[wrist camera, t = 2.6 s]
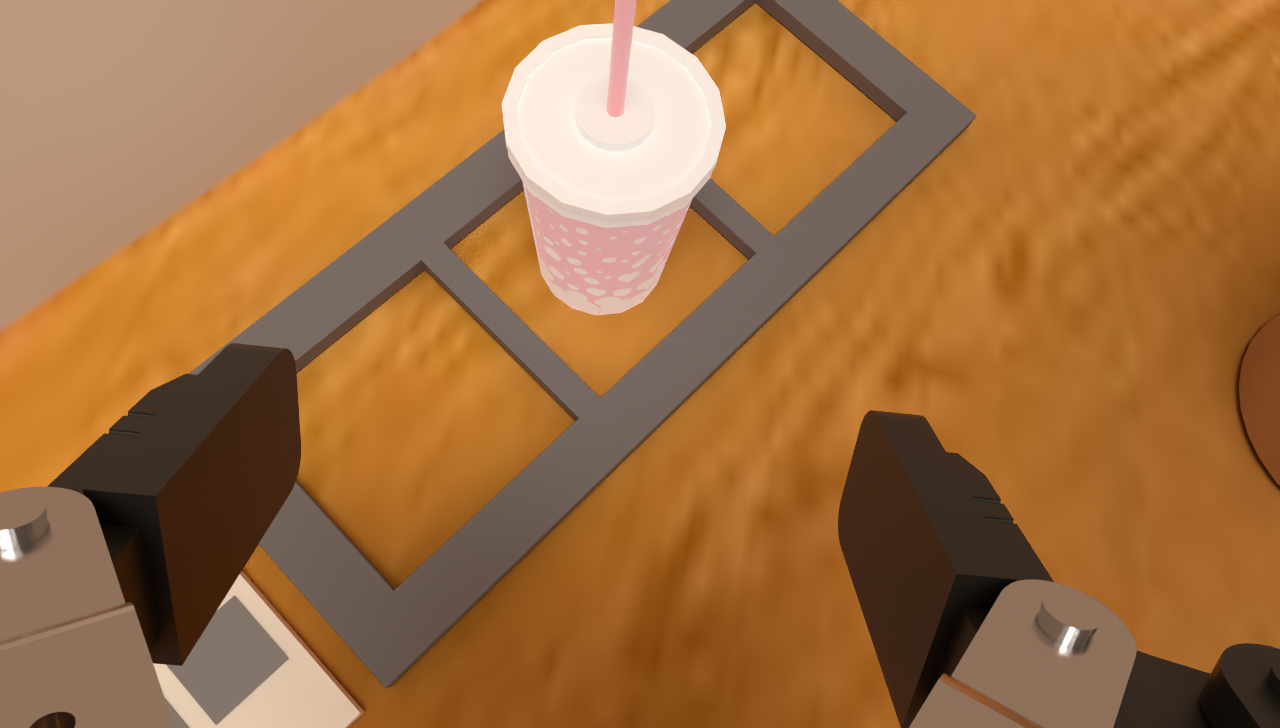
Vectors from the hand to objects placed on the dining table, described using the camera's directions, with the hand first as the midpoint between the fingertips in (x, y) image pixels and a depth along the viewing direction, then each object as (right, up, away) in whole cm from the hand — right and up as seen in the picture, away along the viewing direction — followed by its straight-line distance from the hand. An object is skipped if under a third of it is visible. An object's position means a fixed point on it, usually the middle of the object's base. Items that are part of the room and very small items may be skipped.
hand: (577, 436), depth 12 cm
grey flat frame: (-1, +5, +20) cm, 20 cm away
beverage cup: (-1, +5, +20) cm, 21 cm away
